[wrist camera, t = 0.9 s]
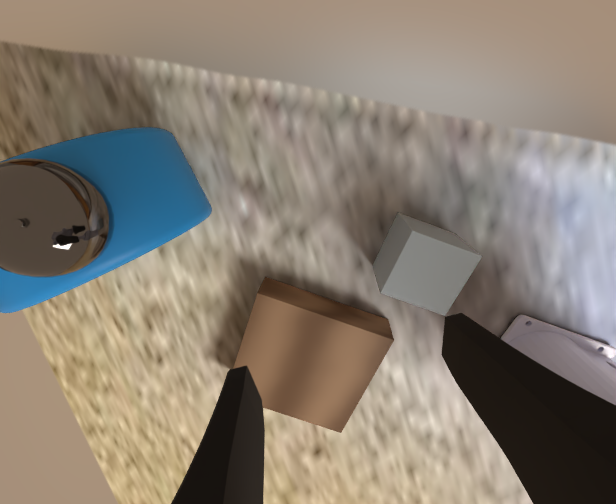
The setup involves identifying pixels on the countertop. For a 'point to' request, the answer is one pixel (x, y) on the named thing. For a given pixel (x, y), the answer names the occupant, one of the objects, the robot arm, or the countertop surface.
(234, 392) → the robot arm
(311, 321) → the walnut base
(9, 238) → the alarm clock
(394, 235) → the slate cube
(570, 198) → the countertop surface
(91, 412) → the countertop surface
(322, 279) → the countertop surface
